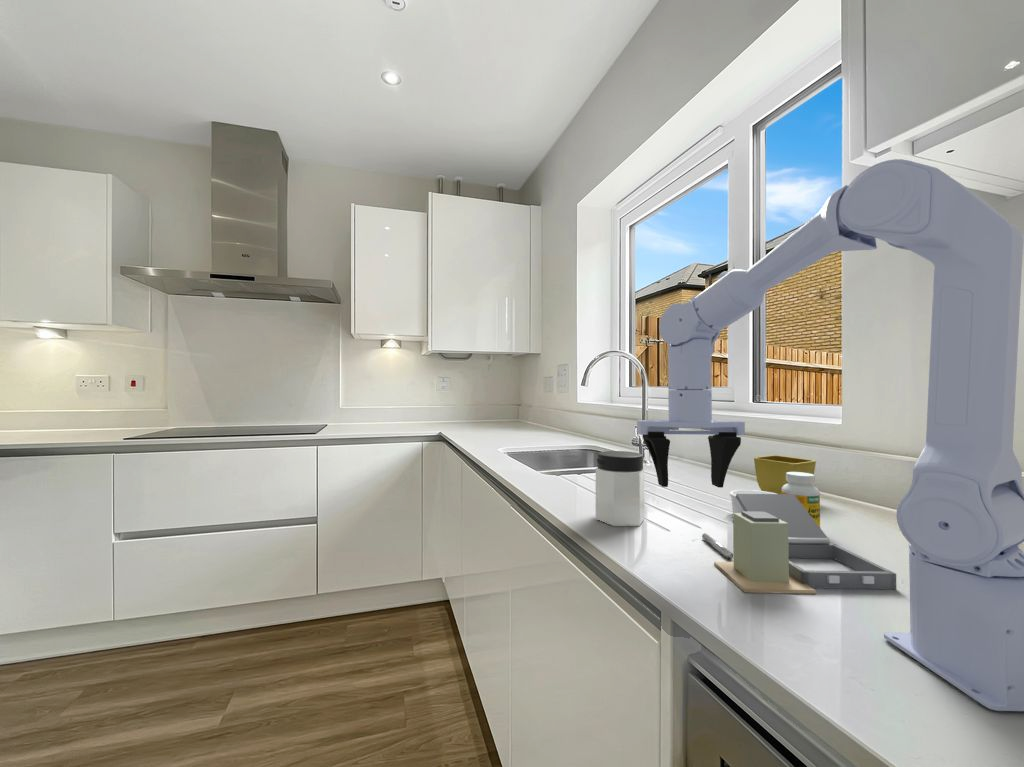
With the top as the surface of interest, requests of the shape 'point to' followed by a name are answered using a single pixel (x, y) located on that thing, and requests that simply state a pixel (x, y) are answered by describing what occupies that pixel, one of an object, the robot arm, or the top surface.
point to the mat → (762, 587)
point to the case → (862, 578)
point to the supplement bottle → (804, 492)
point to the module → (761, 546)
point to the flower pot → (779, 471)
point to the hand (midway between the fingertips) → (690, 485)
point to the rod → (717, 546)
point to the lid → (786, 516)
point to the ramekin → (735, 503)
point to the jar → (620, 488)
